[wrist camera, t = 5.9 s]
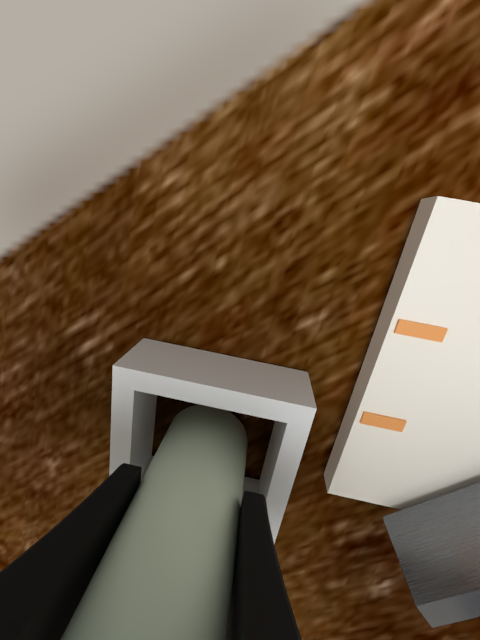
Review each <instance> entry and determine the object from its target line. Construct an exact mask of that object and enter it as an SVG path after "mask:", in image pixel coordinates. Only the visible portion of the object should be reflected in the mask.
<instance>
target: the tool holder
mask: <svg viewBox="0 0 480 640" xmlns="http://www.w3.org/2000/svg"><path fill="white" fill-rule="evenodd" d="M157 395H158V396H163V397H168V398H172V399H177V400H182V401H186V402H191V403H196V404H200V405H205V406H210V407H214V408H219V409H223V410H228V411H233V412H237V413H242V414H247V415H251V416H256V417H261V418H265V419H270V420H275V422H274V426H273V430H272V434H271V438H270V441H269V445H268V449H267V453H266V457H265V461H264V464H263V468H262V472H261V476H260V480H257V479H253V478H249V477H244V483H243V492H242V499H243V495H244V491H250V492H254V493H259V494H263V495H264V496H265V498H266V504H267V511H268V517H269V522H270V527H271V532H272V537H273V541H274V544H275V540H276V537H277V534H278V531H279V528H280V524H281V521H282V518H283V515H284V512H285V508H286V505H287V502H288V499H289V496H290V492H291V489H292V486H293V483H294V480H295V477H296V473H297V470H298V467H299V464H300V461H301V457H302V454H303V451H304V448H305V445H306V441H307V438H308V435H309V432H310V429H311V426H312V422H313V419H314V416H315V413H316V410H317V408H316V403H315V399H314V395H313V391H312V387H311V383H310V379H309V375H308V372H306V371H301V370H296V369H291V368H286V367H282V366H277V365H272V364H267V363H262V362H257V361H253V360H248V359H243V358H238V357H233V356H228V355H224V354H219V353H214V352H209V351H204V350H199V349H195V348H190V347H185V346H180V345H175V344H170V343H165V342H161V341H156V340H151V339H146V338H143V339H142V340H141V341H140V342H139V343H138V344H136V345H135V346H134V347H133V348H132V349H131V350H130V351H128V352H127V353H126V354H125V355H124V356H123V357H122V358H120V359H119V360H118V361H117V362H116V363H115V364H114V365H113V369H112V404H111V438H110V472H109V476H110V475H111V474H112V473H113V472H114V471H115V470H116V469H117V468H118V467H119V466H120V465H121V464H123V463H127V464H131V465H136V466H140V467H142V470H141V481H142V479H143V477H144V475H145V473H146V471H147V469H148V467H149V465H150V463H151V462H152V460H153V458H154V456H152V447H153V436H154V425H155V414H156V403H157ZM241 503H242V501H241Z"/></svg>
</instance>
